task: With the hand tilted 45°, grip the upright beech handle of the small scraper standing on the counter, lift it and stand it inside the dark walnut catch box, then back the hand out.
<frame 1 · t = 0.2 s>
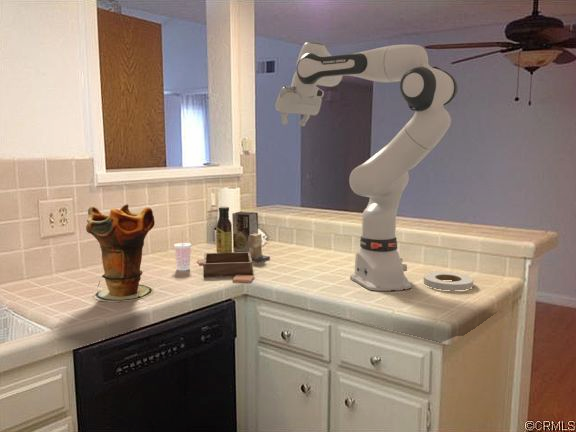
hand: (293, 124, 192), 52 cm above the counter, tool tilted 20°, fingers open, 8 cm apart
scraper: (255, 259, 203), on the counter
decorative vase: (124, 293, 159), on the counter
roll of tape: (447, 286, 167), on the counter
catch box: (227, 269, 186), on the counter
sauce bottle: (224, 256, 209), on the counter
tile a: (206, 264, 197), on the counter
coffee box: (245, 250, 219), on the counter
tile b: (243, 281, 173), on the counter
beverage cup: (183, 269, 188), on the counter
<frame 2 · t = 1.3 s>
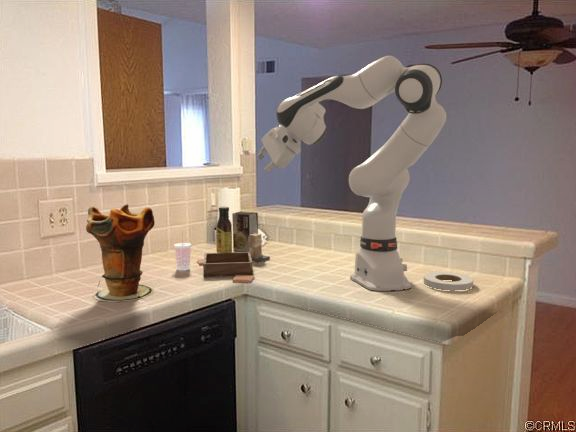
hand: (261, 163, 188), 38 cm above the counter, tool tilted 45°, fingers open, 8 cm apart
nothing on the counter moved.
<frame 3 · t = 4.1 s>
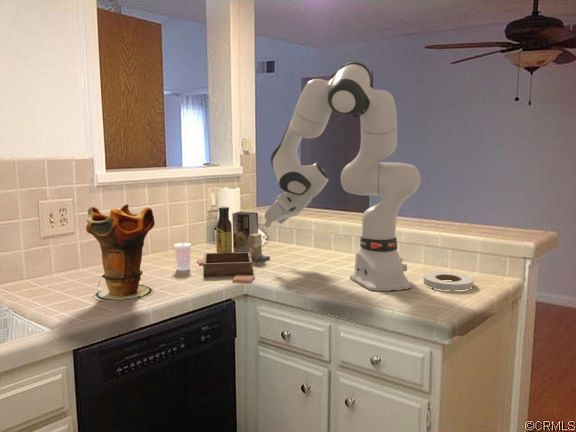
hand: (273, 224, 195), 15 cm above the counter, tool tilted 45°, fingers open, 8 cm apart
nothing on the counter moved.
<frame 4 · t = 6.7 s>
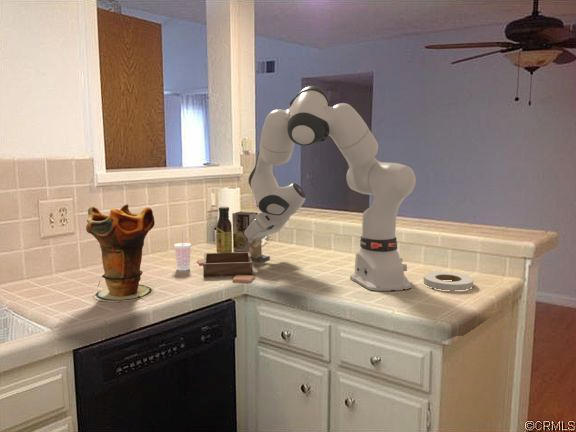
hand: (254, 240, 202), 7 cm above the counter, tool tilted 45°, fingers closed on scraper, 4 cm apart
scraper: (255, 259, 203), on the counter, touching gripper
everything else where it was.
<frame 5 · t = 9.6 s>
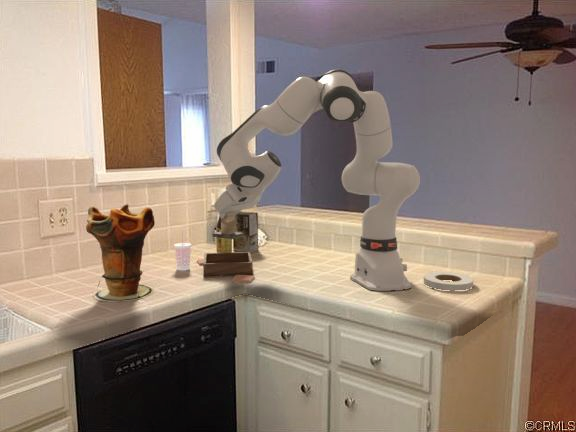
hand: (226, 216, 184), 19 cm above the counter, tool tilted 45°, fingers closed on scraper, 4 cm apart
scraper: (228, 236, 185), point 12 cm above the counter, touching gripper
everything else where it was.
when the fingers open (10 cm above the counter, at t = 12.4 s): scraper drops 2 cm, resting on catch box.
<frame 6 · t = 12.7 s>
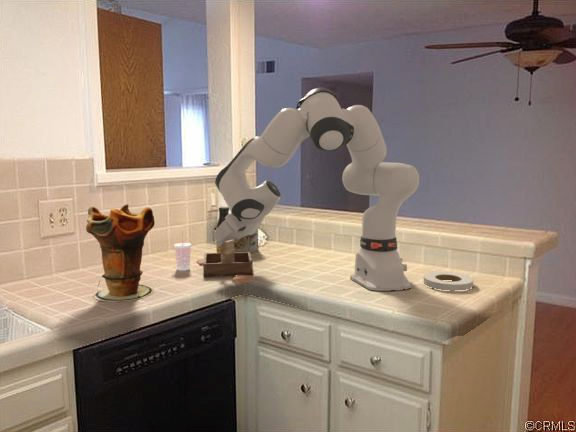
hand: (226, 243, 185), 10 cm above the counter, tool tilted 45°, fingers open, 7 cm apart
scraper: (227, 267, 186), point 1 cm above the counter, touching catch box
everything else where it was.
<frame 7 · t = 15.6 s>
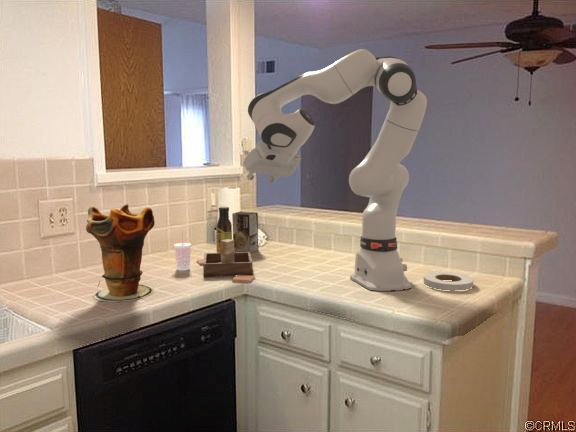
hand: (259, 179, 179), 33 cm above the counter, tool tilted 45°, fingers open, 8 cm apart
nothing on the counter moved.
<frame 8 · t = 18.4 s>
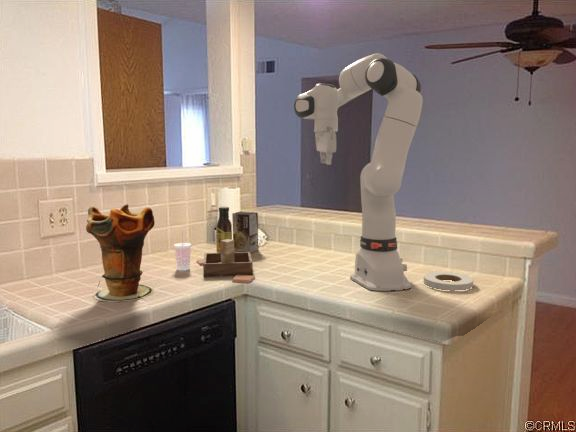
hand: (325, 163, 198), 37 cm above the counter, tool pointing down, fingers open, 8 cm apart
nothing on the counter moved.
at the end: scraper inside the target area on the catch box (0.1 cm from its centre), point 0.8 cm above the catch box's base; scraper tilted 0°; the gripper is holding nothing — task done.
